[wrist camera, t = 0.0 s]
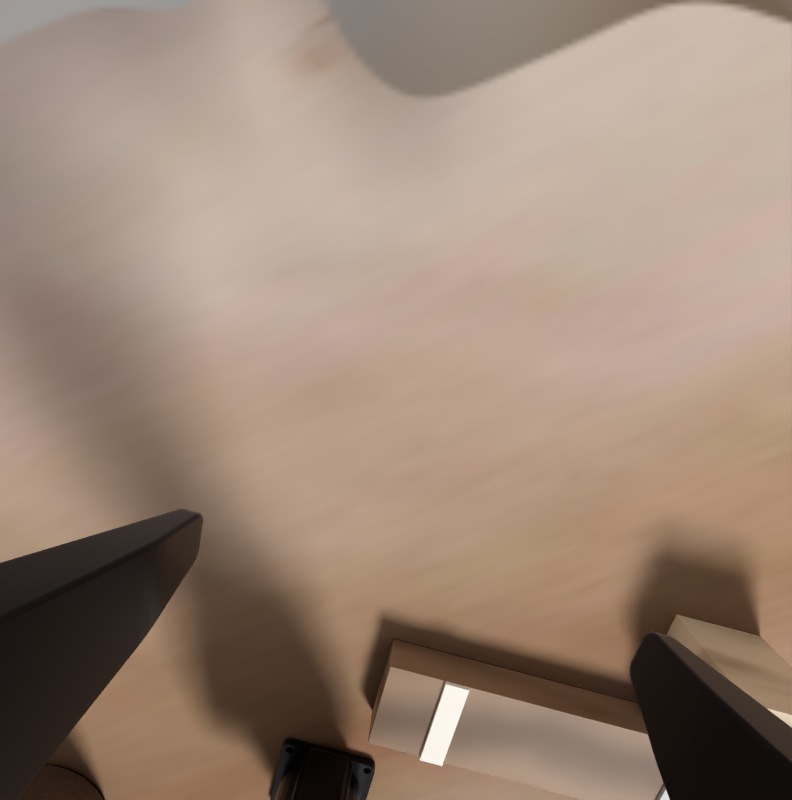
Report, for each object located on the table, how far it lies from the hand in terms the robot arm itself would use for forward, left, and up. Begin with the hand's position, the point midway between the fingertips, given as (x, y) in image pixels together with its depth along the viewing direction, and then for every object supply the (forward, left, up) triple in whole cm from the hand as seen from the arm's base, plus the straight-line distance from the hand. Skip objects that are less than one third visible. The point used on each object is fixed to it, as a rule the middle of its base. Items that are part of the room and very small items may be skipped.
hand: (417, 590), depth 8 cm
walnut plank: (-18, -16, -14) cm, 28 cm away
